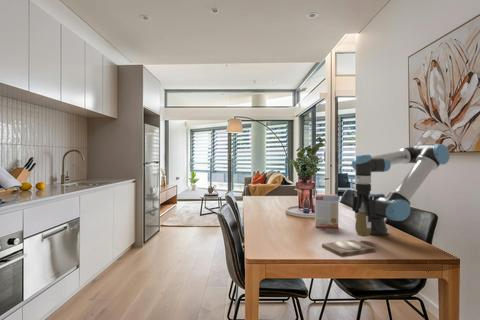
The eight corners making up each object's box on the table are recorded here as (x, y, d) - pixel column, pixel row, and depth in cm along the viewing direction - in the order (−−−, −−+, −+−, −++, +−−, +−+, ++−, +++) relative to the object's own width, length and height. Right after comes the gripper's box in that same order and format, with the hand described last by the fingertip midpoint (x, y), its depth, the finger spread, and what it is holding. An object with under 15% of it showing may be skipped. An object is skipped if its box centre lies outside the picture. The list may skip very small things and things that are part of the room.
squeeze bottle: (367, 233, 155) (367, 200, 155) (374, 237, 147) (374, 203, 147) (352, 233, 155) (352, 200, 155) (359, 237, 147) (359, 203, 147)
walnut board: (353, 242, 148) (353, 239, 148) (375, 251, 135) (375, 247, 135) (321, 246, 141) (321, 243, 141) (341, 256, 128) (341, 251, 128)
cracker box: (336, 225, 184) (336, 194, 184) (338, 228, 178) (338, 195, 178) (314, 225, 185) (314, 193, 185) (315, 227, 179) (316, 194, 179)
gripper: (345, 182, 159) (345, 222, 159) (372, 185, 140) (372, 231, 141) (355, 181, 161) (355, 221, 162) (383, 184, 143) (383, 229, 143)
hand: (363, 226), depth 151 cm, fingers closed on squeeze bottle, 6 cm apart
